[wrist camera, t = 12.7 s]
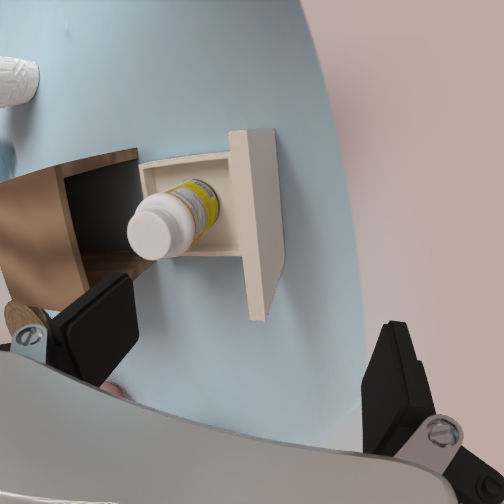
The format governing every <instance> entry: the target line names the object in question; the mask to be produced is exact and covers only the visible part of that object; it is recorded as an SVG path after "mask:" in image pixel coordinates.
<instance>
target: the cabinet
mask: <svg viewBox="0 0 504 504" xmlns="http://www.w3.org/2000/svg"><path fill="white" fill-rule="evenodd" d="M136 158H138V153H137V148H132V149H127V150H122V151H117V152H112V153H107V154H102V155H97V156H93V157H88V158H84V159H80V160H75V161H71V162H67V163H63V164H59V165H55V166H52V167H48V168H45V169H42V170H38V171H35V172H32V173H29V174H26V175H23V176H20V177H17V178H14V179H11V180H8V181H5V182H2V183H0V267H1V270H2V273H3V276H4V279H5V282H6V284H7V287H8V290H9V293H10V295H11V298H12V301H13V303H15V304H21V305H26V306H31V307H37V308H42V309H48V310H54V311H60V312H62V311H63V310H64V309H65V308H66V307H68V306H69V305H70V304H71V303H73V302H74V301H75V300H76V299H78V298H79V297H80V296H81V295H83V294H84V293H85V292H86V291H88V290H89V289H90V288H92V287H93V286H94V285H95V284H97V283H98V282H99V281H101V280H102V279H103V278H104V277H106V276H107V275H108V274H110V273H111V272H112V271H119V272H124V273H127V274H128V275H129V277H130V278H131V279H132V281H133V280H134V279H136V278H137V277H138V276H139V275H140V274H141V273H143V272H144V271H145V270H146V269H147V268H148V267H150V266H151V265H152V264H153V263H154V262H155V261H157V260H147V259H144V258H142V257H141V256H139V255H138V254H137V253H136V252H80V251H79V247H78V243H77V239H76V235H75V231H74V227H73V222H72V218H71V213H70V209H69V204H68V199H67V194H66V189H65V183H64V178H65V177H69V176H72V175H75V174H79V173H82V172H86V171H89V170H93V169H97V168H100V167H104V166H108V165H112V164H116V163H120V162H124V161H128V160H132V159H136Z"/></svg>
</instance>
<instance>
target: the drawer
mask: <svg viewBox="0 0 504 504" xmlns="http://www.w3.org/2000/svg"><path fill="white" fill-rule="evenodd" d="M228 137H229V146H230V151H224V152H215V153H206V154H198V155H190V156H183V157H176V158H169V159H162V160H156V161H151V162H147V163H143V164H139V165H138V166H139V172H140V179H141V185H142V191H143V197H144V199H145V198H147V197H148V196H150V195H152V194H154V193H157V192H159V191H161V190H163V189H166V188H168V187H170V186H172V185H175V184H177V183H179V182H182V181H184V180H187V179H199V180H202V181H205V182H207V183H208V184H209V185H211V186H212V187H213V188H214V190H215V191H216V193H217V195H218V197H219V200H220V213H219V216H218V219H217V220H216V222H215V223H214V224H213V226H211V227H210V228H209V229H208V230H207V231H206V232H205V233H204V234H203V235H202V236H201V237H200V238H199V239H198V240H197V241H196V242H195V243H193V244H192V245H191V246H190V247H189V248H188V249H187V250H186V251H185V252H184V253H182V254H181V255H179V256H177V257H180V256H242V260H243V268H244V277H245V285H246V293H247V301H248V310H249V318H250V320H253V321H266V318H267V315H268V312H269V309H270V306H271V303H272V300H273V297H274V294H275V291H276V287H277V284H278V281H279V278H280V275H281V272H282V269H283V266H284V262H285V252H284V238H283V224H282V210H281V197H280V185H279V173H278V162H277V151H276V140H275V129H244V130H235V131H228Z"/></svg>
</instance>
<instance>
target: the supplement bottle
mask: <svg viewBox="0 0 504 504" xmlns="http://www.w3.org/2000/svg"><path fill="white" fill-rule="evenodd" d="M219 213H220V200H219V197H218V195H217V193H216V191H215V190H214V188H213V187H212V186H211V185H209V184H208V183H207V182H205V181H202V180H199V179H187V180H184V181H182V182H179V183H177V184H175V185H172V186H170V187H168V188H166V189H163V190H161V191H159V192H157V193H154V194H152V195H150V196H148V197H147V198H145V199H144V200H143V201H142V202H141V203H140V204H139V205H138V207H137V209H136V211H135V215H134V216H133V217H132V218H131V220H130V221H129V223H128V227H127V236H128V240H129V243H130V245H131V247H132V249H133V250H134V251H135V252H136V253H137V254H138V255H139V256H141V257H142V258H144V259H147V260H159V259H161V258H174V257H177V256H179V255H181V254H182V253H184V252H185V251H186V250H187V249H188V248H189V247H190V246H191V245H192V244H193V243H195V242H196V241H197V240H198V239H199V238H200V237H201V236H202V235H203V234H204V233H205V232H206V231H207V230H208V229H209V228H210V227H211V226H213V224H214V223H215V222H216V220H217V219H218V216H219Z"/></svg>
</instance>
